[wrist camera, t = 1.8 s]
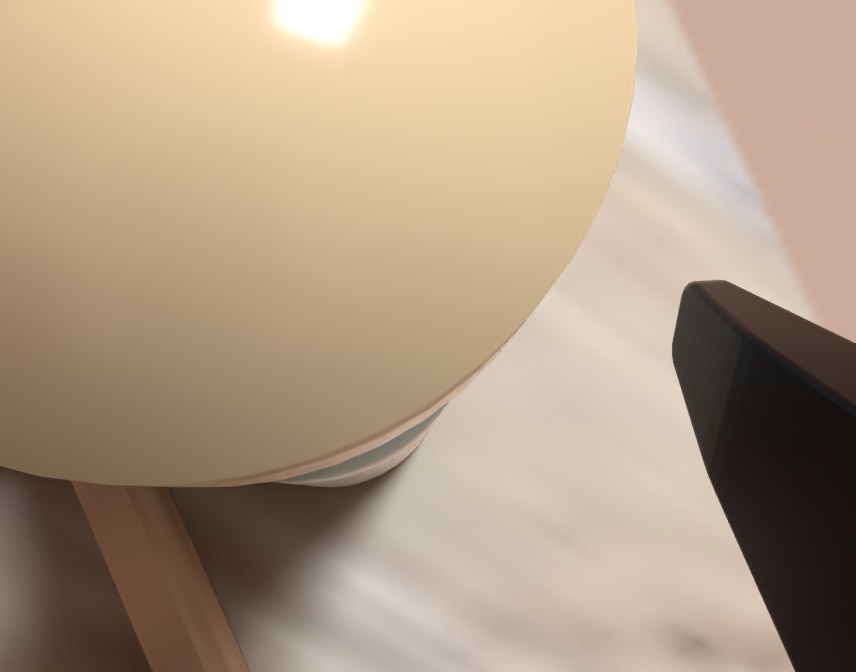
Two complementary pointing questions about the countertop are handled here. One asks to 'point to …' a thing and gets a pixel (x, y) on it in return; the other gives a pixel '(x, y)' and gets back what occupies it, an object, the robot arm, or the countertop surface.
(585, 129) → the tall jar
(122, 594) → the caddy
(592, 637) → the countertop surface
